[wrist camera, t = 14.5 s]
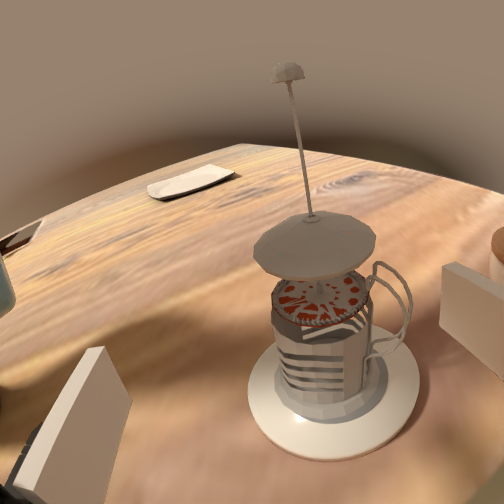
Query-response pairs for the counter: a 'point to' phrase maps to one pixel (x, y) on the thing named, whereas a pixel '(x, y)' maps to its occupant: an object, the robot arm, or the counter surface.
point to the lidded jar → (497, 257)
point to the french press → (322, 302)
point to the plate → (188, 182)
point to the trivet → (346, 427)
